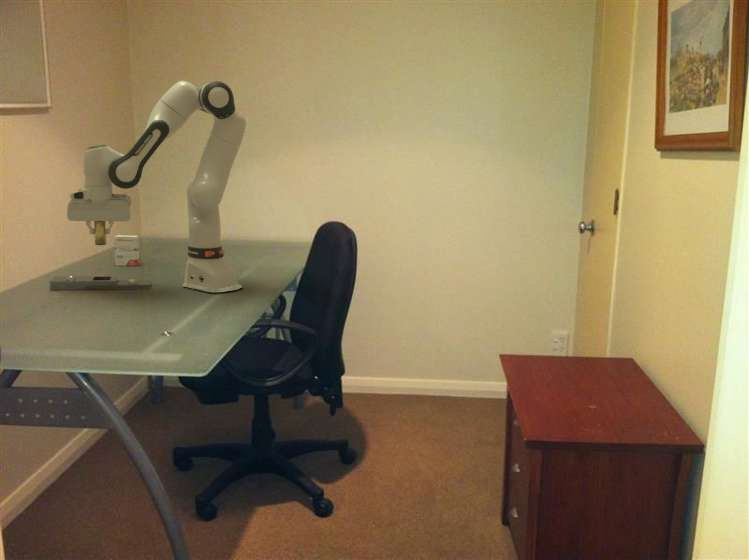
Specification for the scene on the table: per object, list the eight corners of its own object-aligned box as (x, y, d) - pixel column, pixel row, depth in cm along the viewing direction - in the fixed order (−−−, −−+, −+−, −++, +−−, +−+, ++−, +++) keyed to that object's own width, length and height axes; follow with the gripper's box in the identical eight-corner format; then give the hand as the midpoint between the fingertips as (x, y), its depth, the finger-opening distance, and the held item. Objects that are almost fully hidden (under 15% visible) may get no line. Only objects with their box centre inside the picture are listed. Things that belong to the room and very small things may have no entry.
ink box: (140, 263, 283) (139, 235, 280) (137, 266, 278) (136, 237, 276) (118, 263, 282) (117, 234, 279) (114, 265, 277) (113, 236, 275)
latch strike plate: (151, 283, 251) (150, 272, 250) (149, 289, 243) (149, 277, 242) (54, 284, 243) (54, 273, 242) (50, 290, 235) (49, 278, 234)
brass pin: (108, 244, 240) (107, 221, 238) (98, 245, 237) (97, 222, 236) (102, 243, 242) (102, 220, 240) (93, 244, 240) (92, 221, 238)
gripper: (131, 193, 242) (132, 232, 245) (68, 191, 236) (70, 232, 239) (130, 195, 236) (131, 235, 239) (65, 194, 230) (67, 235, 233)
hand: (100, 234), depth 239 cm, fingers closed on brass pin, 4 cm apart
